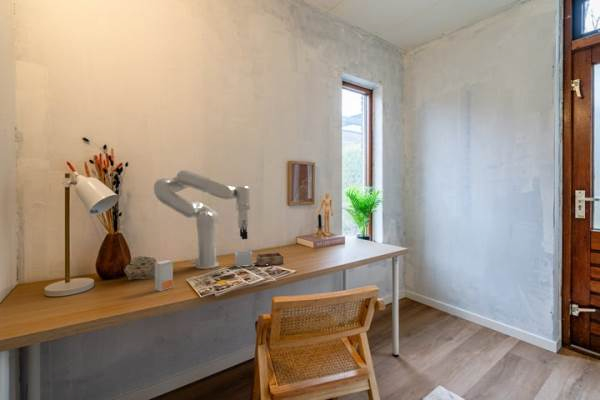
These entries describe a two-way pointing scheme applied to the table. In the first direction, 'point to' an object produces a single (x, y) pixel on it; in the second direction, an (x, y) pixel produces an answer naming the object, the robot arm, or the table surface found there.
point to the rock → (141, 268)
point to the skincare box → (163, 275)
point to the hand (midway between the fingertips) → (243, 237)
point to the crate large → (270, 259)
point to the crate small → (243, 258)
